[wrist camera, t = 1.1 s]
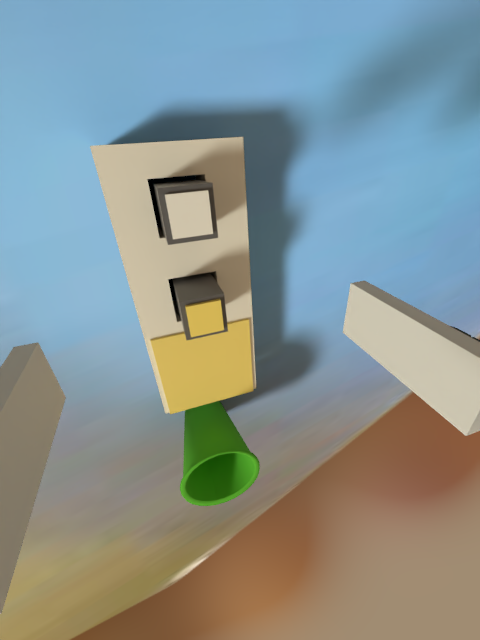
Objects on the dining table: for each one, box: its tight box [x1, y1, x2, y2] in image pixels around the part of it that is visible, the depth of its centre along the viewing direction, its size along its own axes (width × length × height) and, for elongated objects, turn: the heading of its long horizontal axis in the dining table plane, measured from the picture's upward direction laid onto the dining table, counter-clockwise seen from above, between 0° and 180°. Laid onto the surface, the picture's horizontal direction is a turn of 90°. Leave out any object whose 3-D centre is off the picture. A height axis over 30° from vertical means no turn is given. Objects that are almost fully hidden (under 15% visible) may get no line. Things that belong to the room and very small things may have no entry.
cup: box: [180, 401, 259, 506], centre depth 36 cm, size 9×9×11 cm
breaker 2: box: [172, 272, 228, 340], centre depth 25 cm, size 4×4×6 cm
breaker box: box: [90, 137, 256, 414], centre depth 29 cm, size 26×11×5 cm, turn 4°
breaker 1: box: [153, 179, 218, 245], centre depth 22 cm, size 4×4×6 cm
